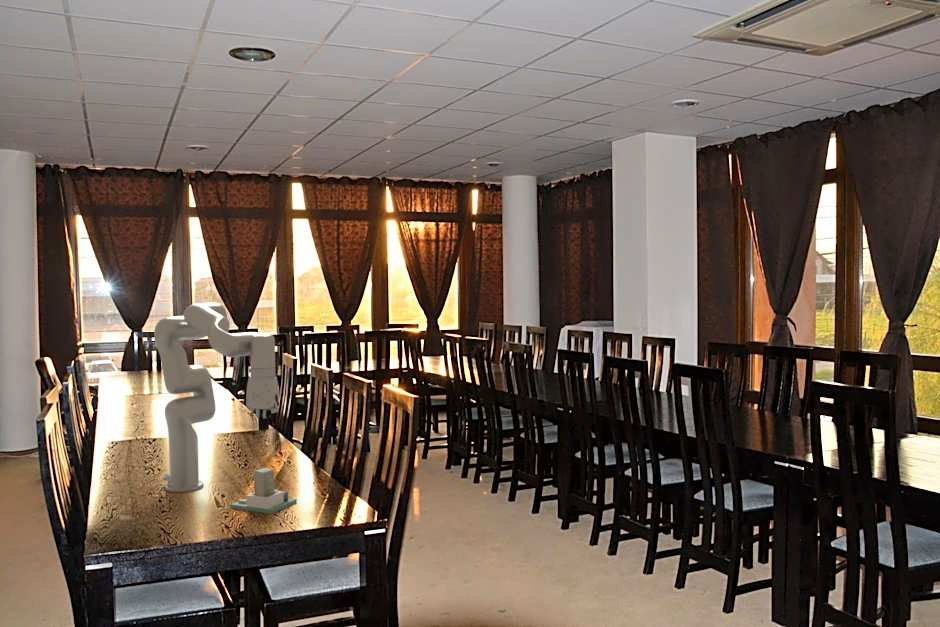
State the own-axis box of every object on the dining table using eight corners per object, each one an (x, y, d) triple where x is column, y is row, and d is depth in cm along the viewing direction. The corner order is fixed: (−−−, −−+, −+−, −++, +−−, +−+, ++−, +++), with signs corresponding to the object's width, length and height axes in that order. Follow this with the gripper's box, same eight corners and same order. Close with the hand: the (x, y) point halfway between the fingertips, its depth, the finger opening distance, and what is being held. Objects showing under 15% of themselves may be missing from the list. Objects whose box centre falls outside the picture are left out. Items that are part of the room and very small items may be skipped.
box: (266, 500, 263) (265, 467, 262) (275, 503, 261) (275, 468, 260) (253, 504, 259) (253, 470, 258) (263, 507, 256) (262, 472, 256)
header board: (230, 508, 260) (230, 496, 259) (256, 497, 271) (256, 486, 271) (272, 513, 253) (271, 502, 253) (296, 502, 265) (296, 491, 265)
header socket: (246, 506, 258) (246, 495, 257) (264, 498, 266) (263, 488, 265) (267, 509, 254) (267, 498, 254) (284, 501, 262) (284, 490, 262)
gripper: (236, 373, 258) (237, 430, 259) (274, 375, 252) (275, 434, 253) (251, 370, 265) (252, 426, 266) (289, 372, 259) (290, 429, 260)
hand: (263, 429), depth 259 cm, fingers closed
